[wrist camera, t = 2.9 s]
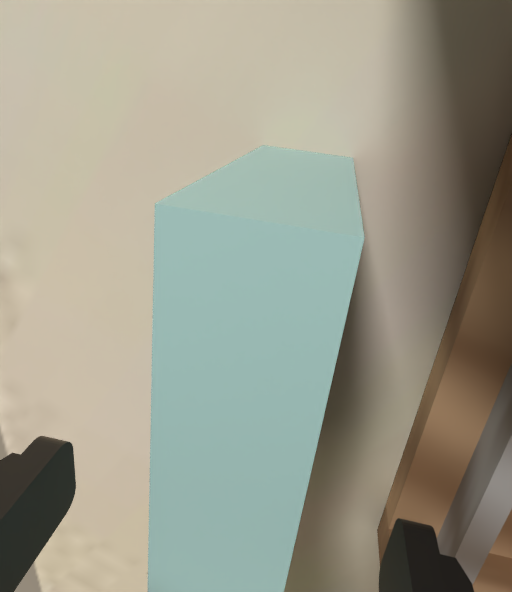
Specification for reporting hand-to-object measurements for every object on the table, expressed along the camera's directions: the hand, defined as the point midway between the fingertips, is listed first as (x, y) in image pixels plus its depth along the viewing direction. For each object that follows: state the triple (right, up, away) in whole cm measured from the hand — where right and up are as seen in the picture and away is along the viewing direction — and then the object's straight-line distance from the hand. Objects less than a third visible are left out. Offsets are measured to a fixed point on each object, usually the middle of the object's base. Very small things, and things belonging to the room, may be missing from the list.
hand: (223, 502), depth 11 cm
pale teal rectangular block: (+2, +4, +9) cm, 11 cm away
